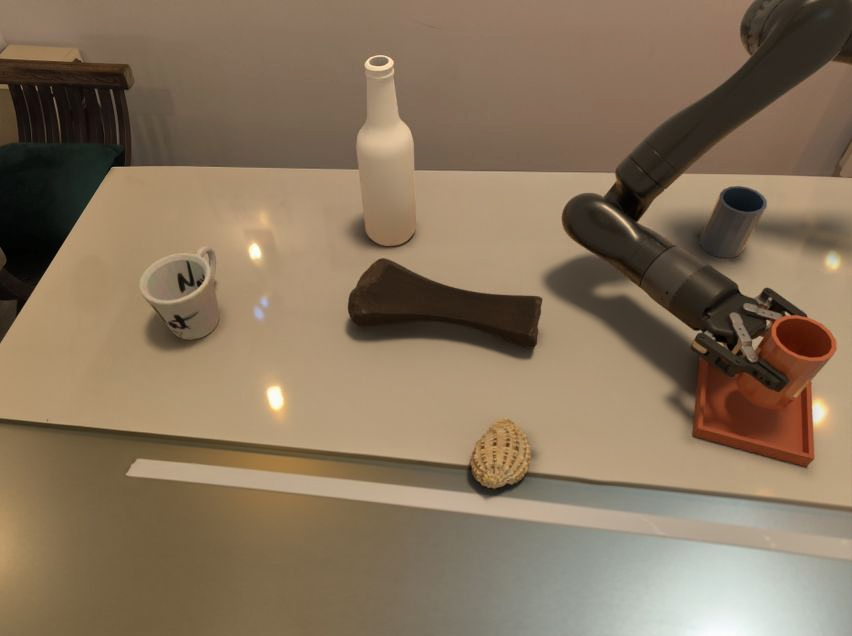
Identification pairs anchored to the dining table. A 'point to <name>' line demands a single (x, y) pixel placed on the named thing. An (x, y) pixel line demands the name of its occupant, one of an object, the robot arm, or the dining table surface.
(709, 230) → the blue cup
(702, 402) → the terracotta tray
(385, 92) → the alcohol
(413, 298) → the dark brown bone
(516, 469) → the seashell
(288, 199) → the dining table surface
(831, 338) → the terracotta cup
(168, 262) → the mug
